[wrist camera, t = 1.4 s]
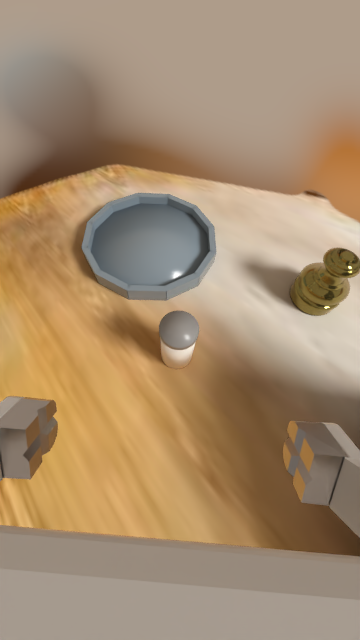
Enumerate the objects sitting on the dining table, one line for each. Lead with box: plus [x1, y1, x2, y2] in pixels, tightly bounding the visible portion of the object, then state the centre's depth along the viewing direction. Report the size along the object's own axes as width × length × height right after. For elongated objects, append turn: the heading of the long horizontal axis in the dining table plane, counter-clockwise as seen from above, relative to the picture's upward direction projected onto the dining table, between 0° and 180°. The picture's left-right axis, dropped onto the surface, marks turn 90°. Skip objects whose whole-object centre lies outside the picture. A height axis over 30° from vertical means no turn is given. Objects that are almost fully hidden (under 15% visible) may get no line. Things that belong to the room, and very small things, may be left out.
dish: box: [82, 193, 216, 300], centre depth 46 cm, size 22×22×2 cm
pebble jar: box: [159, 311, 199, 369], centre depth 34 cm, size 5×5×8 cm
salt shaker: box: [290, 248, 360, 316], centre depth 39 cm, size 7×7×10 cm
